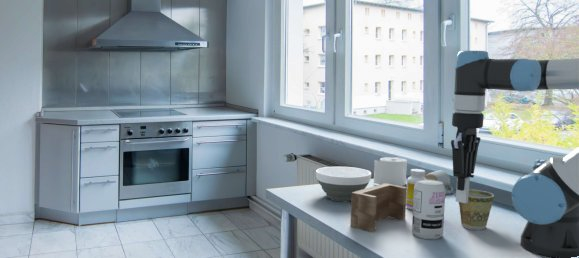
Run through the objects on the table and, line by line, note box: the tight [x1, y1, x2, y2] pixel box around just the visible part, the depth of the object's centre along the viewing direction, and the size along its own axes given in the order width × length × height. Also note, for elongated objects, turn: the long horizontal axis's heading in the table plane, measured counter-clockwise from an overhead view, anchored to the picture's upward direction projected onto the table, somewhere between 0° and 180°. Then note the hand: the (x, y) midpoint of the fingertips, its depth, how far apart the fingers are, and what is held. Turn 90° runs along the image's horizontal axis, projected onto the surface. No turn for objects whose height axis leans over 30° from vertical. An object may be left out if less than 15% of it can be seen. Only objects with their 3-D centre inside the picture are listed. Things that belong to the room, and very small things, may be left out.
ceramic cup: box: [458, 188, 495, 231], centre depth 146 cm, size 13×10×10 cm
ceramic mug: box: [424, 169, 454, 195], centre depth 189 cm, size 11×8×8 cm
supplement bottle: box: [406, 168, 426, 211], centre depth 164 cm, size 7×7×13 cm
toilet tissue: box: [373, 156, 408, 187], centre depth 200 cm, size 11×12×10 cm
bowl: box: [315, 166, 372, 202], centre depth 176 cm, size 20×20×10 cm
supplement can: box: [411, 179, 447, 240], centre depth 136 cm, size 8×8×15 cm
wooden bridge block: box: [349, 183, 407, 233], centre depth 147 cm, size 8×18×10 cm, turn 137°
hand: (461, 201), depth 129 cm, fingers closed
